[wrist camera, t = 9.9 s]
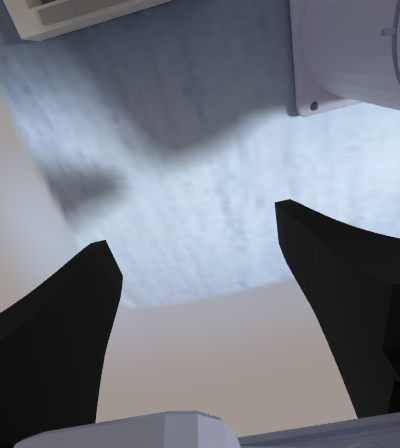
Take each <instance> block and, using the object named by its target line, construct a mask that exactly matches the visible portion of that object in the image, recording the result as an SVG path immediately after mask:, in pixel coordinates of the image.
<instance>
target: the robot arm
mask: <svg viewBox="0 0 400 448" xmlns="http://www.w3.org/2000/svg"><path fill="white" fill-rule="evenodd" d="M290 15H291V31H292V46H293V62H294V78H295V93H296V109H297V113H298V114H299V115H301V116H303V117H306V116H310V115H314V114H318V113H322V112H326V111H330V110H334V109H338V108H342V107H346V106H349V105H353V104H357V103H361V102H366V103H370V104H374V105H378V106H383V107H387V108H391V109H395V110H400V0H290ZM313 102H316V107H315V108H314V109H313V110H311V109H310V105H311V104H312V103H313ZM275 210H276V220H277V230H278V239H279V245H280V248H281V250H282V253H283V255H284V258H285V260H286V263H287V265H288V266H289V268H290V270H291V272H292V274H293V275H294V277H295V279H296V281H297V282H298V284H299V286H300V288H301V289H302V291H303V293H304V295H305V296H306V298H307V300H308V302H309V303H310V305H311V307H312V309H313V311H314V313H315V315H316V317H317V319H318V321H319V324H320V326H321V328H322V331H323V333H324V335H325V337H326V340H327V342H328V344H329V347H330V349H331V352H332V354H333V356H334V359H335V361H336V363H337V366H338V369H339V371H340V374H341V376H342V379H343V381H344V384H345V386H346V389H347V391H348V394H349V396H350V399H351V401H352V404H353V407H354V409H355V412H356V415H357V417H358V419H353V420H347V421H340V422H334V423H328V424H322V425H315V426H308V427H302V428H297V429H290V430H283V431H276V432H270V433H264V434H257V435H251V436H244V437H237V435H236V434H235V433H234V431H232V430H231V428H230V427H229V426H228V425H227V424H225V422H224V421H222V420H221V419H220V418H219V417H216V416H212V415H209V414H206V413H202V412H199V411H166V412H160V413H154V414H148V415H143V416H136V417H130V418H124V419H118V420H113V421H106V422H100V423H95V420H96V411H97V402H98V396H99V388H100V381H101V374H102V369H103V363H104V356H105V352H106V348H107V344H108V340H109V337H110V333H111V330H112V326H113V323H114V319H115V315H116V312H117V308H118V305H119V301H120V297H121V290H122V281H123V275H122V273H121V271H120V269H119V267H118V265H117V263H116V261H115V259H114V257H113V255H112V252H111V250H110V248H109V246H108V244H107V242H106V240H103V241H98V242H94V243H91V244H90V245H88V246H87V247H85V248H84V249H83V250H81V251H80V252H79V253H78V254H77V255H75V256H74V257H73V258H72V259H71V260H70V261H68V262H67V263H66V264H65V265H64V266H63V267H61V268H60V269H59V270H58V271H57V272H55V273H54V274H53V275H52V276H50V277H49V278H48V279H47V280H46V281H44V282H43V283H42V284H41V285H39V286H38V287H37V288H36V289H34V290H33V291H32V292H30V293H29V294H28V295H26V296H25V297H23V298H22V299H21V300H19V301H18V302H16V303H15V304H13V305H12V306H11V307H9V308H7V309H6V310H4V311H3V312H1V313H0V448H400V238H395V237H390V236H386V235H382V234H378V233H374V232H371V231H367V230H364V229H360V228H357V227H354V226H351V225H348V224H346V223H343V222H340V221H338V220H335V219H333V218H330V217H328V216H325V215H323V214H321V213H319V212H317V211H314V210H312V209H310V208H308V207H306V206H304V205H302V204H300V203H298V202H295V201H293V200H291V199H289V200H284V201H280V202H275Z"/></svg>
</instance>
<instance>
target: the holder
mask: <svg viewBox="0 0 400 448" xmlns="http://www.w3.org/2000/svg"><path fill="white" fill-rule="evenodd" d="M169 1H173V0H56V1H53V2H50V3H47V4H44V5H42V2H41V0H3V2H4V4H5V6H6V8H7V10H8V12H9V14H10V16H11V18H12V20H13V23H14V25H15V27H16V29H17V31H18V33H19V35H20V37H21V39H25V40H32V41H43V40H46V39H49V38H53V37H56V36H59V35H62V34H66V33H69V32H72V31H75V30H79V29H82V28H85V27H88V26H92V25H95V24H98V23H101V22H105V21H108V20H111V19H114V18H118V17H121V16H124V15H127V14H130V13H134V12H137V11H140V10H143V9H147V8H150V7H153V6H156V5H160V4H163V3H166V2H169Z"/></svg>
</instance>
